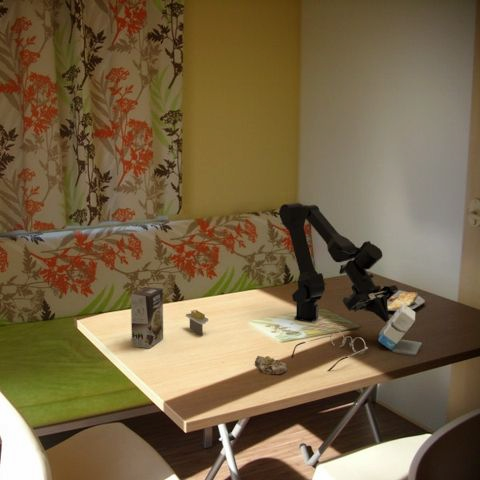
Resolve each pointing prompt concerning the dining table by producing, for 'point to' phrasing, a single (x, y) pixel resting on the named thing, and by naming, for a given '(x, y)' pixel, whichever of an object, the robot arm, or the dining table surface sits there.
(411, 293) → the food plate
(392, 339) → the ink box
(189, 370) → the dining table surface
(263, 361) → the mineral rock
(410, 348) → the mat
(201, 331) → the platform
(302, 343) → the eyeglasses
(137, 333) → the coffee box
